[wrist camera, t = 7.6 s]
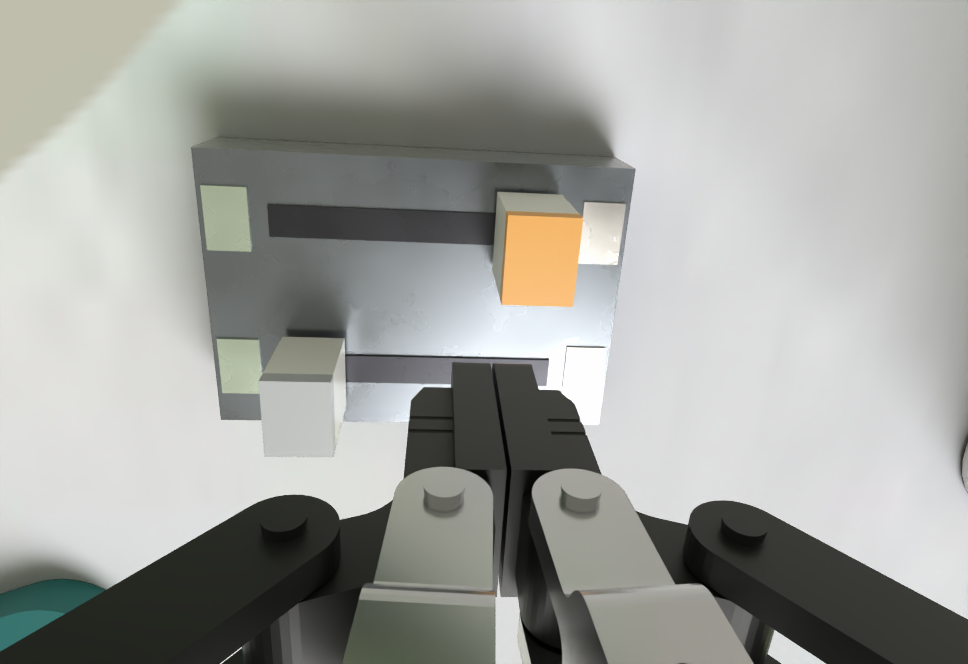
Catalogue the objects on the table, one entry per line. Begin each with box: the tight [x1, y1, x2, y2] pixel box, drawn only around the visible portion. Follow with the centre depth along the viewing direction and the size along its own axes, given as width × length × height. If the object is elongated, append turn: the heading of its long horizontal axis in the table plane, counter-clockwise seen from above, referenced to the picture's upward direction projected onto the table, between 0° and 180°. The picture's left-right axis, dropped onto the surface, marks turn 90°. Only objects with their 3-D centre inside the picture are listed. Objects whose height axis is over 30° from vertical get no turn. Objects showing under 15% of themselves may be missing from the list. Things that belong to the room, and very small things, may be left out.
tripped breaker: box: [492, 192, 583, 307], centre depth 23 cm, size 2×3×4 cm
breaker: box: [258, 337, 346, 457], centre depth 25 cm, size 2×3×4 cm
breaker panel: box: [191, 137, 635, 425], centre depth 27 cm, size 16×11×3 cm
